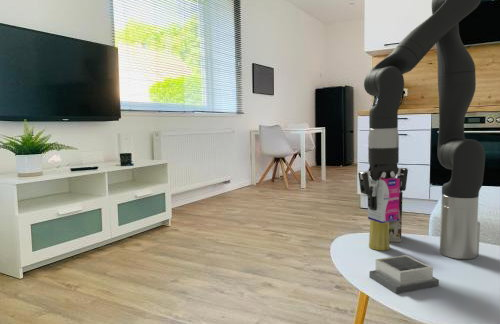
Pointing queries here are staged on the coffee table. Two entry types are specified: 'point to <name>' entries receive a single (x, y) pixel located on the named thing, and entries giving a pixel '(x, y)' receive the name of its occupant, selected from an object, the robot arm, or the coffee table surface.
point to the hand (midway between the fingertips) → (383, 208)
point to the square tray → (403, 274)
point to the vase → (379, 235)
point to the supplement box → (386, 201)
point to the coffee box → (396, 224)
